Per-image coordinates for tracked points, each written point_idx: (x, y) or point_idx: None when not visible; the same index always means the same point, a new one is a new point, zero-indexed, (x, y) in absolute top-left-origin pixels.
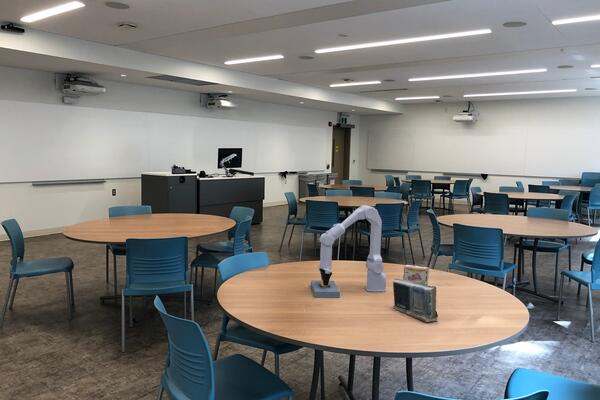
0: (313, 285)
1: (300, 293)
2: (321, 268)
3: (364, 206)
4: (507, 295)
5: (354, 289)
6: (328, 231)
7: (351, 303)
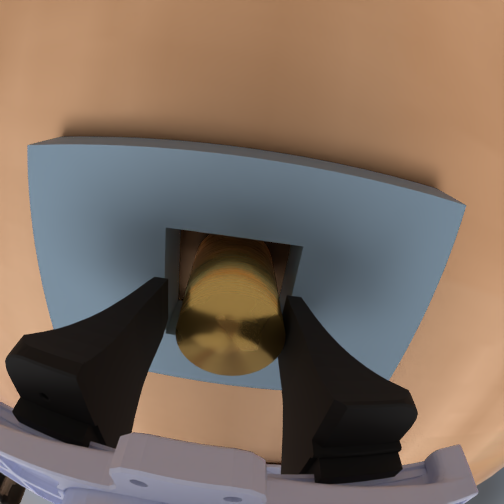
0: (256, 165)
1: (199, 11)
2: (63, 446)
3: None
4: None
5: (263, 434)
6: None
7: (11, 334)
